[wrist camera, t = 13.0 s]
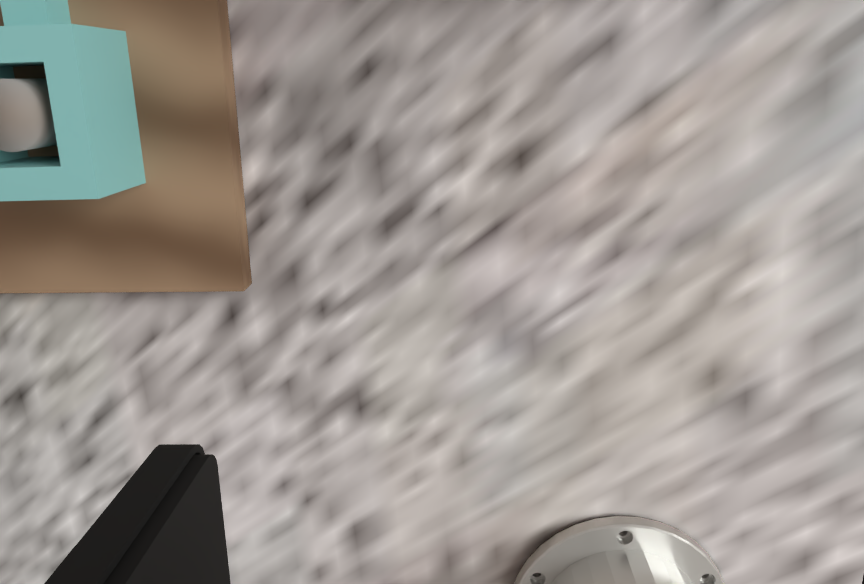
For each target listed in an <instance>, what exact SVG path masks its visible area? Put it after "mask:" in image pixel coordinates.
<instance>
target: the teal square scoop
mask: <svg viewBox="0 0 864 584" xmlns="http://www.w3.org/2000/svg"><path fill="white" fill-rule="evenodd" d="M0 5H1V11H2V16H3V22H4V26H0V79H15V77H14V71H13V66H44V67H45V74H46V80H47V86H48V92H49V98H50V104H51V110H52V116H53V122H54V128H55V134H56V140H57V146H58V152H59V156H41V157H29V156H28V151H27V150H25V151H19V152H6V151H2V150H0V201H35V200H77V199H100V198H103V197H106V196H109V195H112V194H115V193H118V192H121V191H124V190H127V189H130V188H133V187H135V186H138V185H141V184H144V183H146V179H145V172H144V164H143V157H142V150H141V142H140V135H139V127H138V120H137V112H136V105H135V97H134V90H133V82H132V75H131V68H130V60H129V53H128V45H127V38H126V31H120V30H113V29H106V28H99V27H92V26H85V25H77V24H71V19H70V13H69V6H68V0H0Z"/></svg>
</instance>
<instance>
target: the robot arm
mask: <svg viewBox="0 0 864 584" xmlns="http://www.w3.org/2000/svg"><path fill="white" fill-rule="evenodd" d="M45 584H230V575H229V566H228V557H227V548H226V539H225V530H224V520H223V511H222V502H221V493H220V484H219V475H218V466H217V460H216V458H215V456H214V455H205V453H204V450H203V448H202V447H201V446H200V445H158V446H157V447H156V448H155V449H154V450H153V451H152V453H151V454H150V455H149V456H148V458H147V459H146V460H145V461H144V463H143V464H142V465H141V466H140V467H139V469H138V470H137V471H136V472H135V474H134V475H133V476H132V477H131V478H130V480H129V481H128V482H127V483H126V485H125V486H124V487H123V488H122V490H121V491H120V492H119V493H118V494H117V496H116V497H115V498H114V499H113V501H112V502H111V503H110V504H109V506H108V507H107V508H106V509H105V510H104V512H103V513H102V514H101V515H100V517H99V518H98V519H97V520H96V522H95V523H94V524H93V525H92V526H91V528H90V529H89V530H88V531H87V533H86V534H85V535H84V536H83V537H82V539H81V540H80V541H79V542H78V544H77V545H76V546H75V547H74V548H73V549H72V551H71V552H70V553H69V554H68V555H67V557H66V558H65V559H64V560H63V562H62V563H61V564H60V565H59V566H58V568H57V569H56V570H55V571H54V573H53V574H52V575H51V576H50V578H49V579H48V580H47V581H46V582H45ZM514 584H725V583H724V581H723V578H722V576H721V574H720V572H719V570H718V568H717V567H716V565H715V564H714V562H713V561H712V559H711V557H710V556H709V554H708V553H707V552H706V551H705V550H704V549H703V548H702V547H701V546H700V545H699V544H698V543H697V542H696V541H695V540H694V539H692V538H691V537H689V536H688V535H686V534H685V533H683V532H681V531H680V530H678V529H676V528H674V527H671V526H669V525H667V524H664V523H662V522H659V521H655V520H650V519H646V518H641V517H629V516H613V517H604V518H596V519H593V520H589V521H586V522H582V523H579V524H576V525H573V526H571V527H569V528H567V529H565V530H563V531H561V532H559V533H557V534H556V535H554V536H553V537H551V538H550V539H549V540H547V541H546V542H545V543H543V544H542V545H540V546H539V548H538V549H537V550H536V551H535V552H534V553H533V554H532V555H531V556H530V557H529V558H528V559H527V561H526V562H525V564H524V565H523V567H522V569H521V570H520V572H519V573H518V575H517V578H516V580H515V583H514ZM862 584H864V576H863V582H862Z"/></svg>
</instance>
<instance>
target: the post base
mask: <svg viewBox="0 0 864 584" xmlns="http://www.w3.org/2000/svg"><path fill="white" fill-rule="evenodd" d="M68 6H69V13H70V19H71V24H77V25H85V26H92V27H99V28H106V29H113V30H120V31H126V38H127V45H128V53H129V60H130V68H131V75H132V82H133V90H134V97H135V105H136V112H137V120H138V127H139V135H140V142H141V150H142V157H143V164H144V172H145V179H146V183H144V184H141V185H138V186H135V187H133V188H130V189H127V190H124V191H121V192H118V193H115V194H112V195H109V196H106V197H103V198H100V199H77V200H35V201H0V293H86V292H206V291H245V290H246V289H247V288H248V287H249V286H250V285H251V284H252V281H251V269H250V258H249V246H248V235H247V224H246V212H245V201H244V189H243V178H242V167H241V155H240V144H239V132H238V121H237V110H236V98H235V87H234V75H233V64H232V53H231V41H230V30H229V18H228V7H227V0H68ZM0 26H4V22H3V16H2V11H1V5H0ZM13 71H14V77H15V79H0V150H2V151H6V152H19V151H25V150H27V151H28V156H29V157H41V156H59V152H58V146H57V140H56V134H55V128H54V122H53V116H52V110H51V104H50V98H49V92H48V86H47V80H46V74H45V67H44V66H13Z"/></svg>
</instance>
